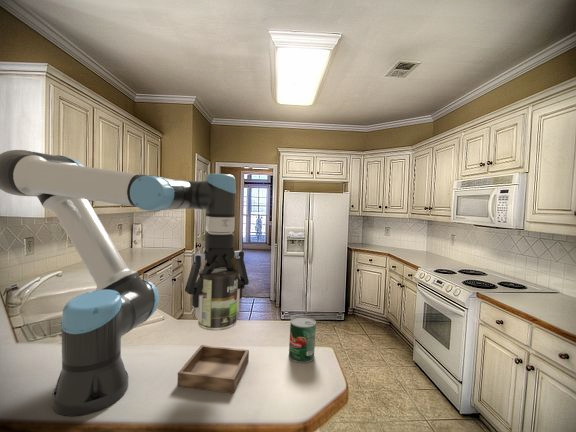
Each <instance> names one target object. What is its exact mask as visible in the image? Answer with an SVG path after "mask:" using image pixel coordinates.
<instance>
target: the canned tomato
mask: <svg viewBox="0 0 576 432" xmlns="http://www.w3.org/2000/svg"><path fill="white" fill-rule="evenodd" d="M316 324H317V321H316V320H315V319H314V318H311V317H309V316H295V317H293V318H291V319H290V325H289V327H290V328H289V343H288V344H289V345H288V346H289V347H288V358H289V359H290V360H291V361H293V362H295V363H301V364H306V363H307V364H308V363H311V362H312V361H313V360H314V358H315V348H316V347H315V345H316V329H317V327H316Z"/></svg>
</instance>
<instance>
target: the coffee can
mask: <svg viewBox="0 0 576 432" xmlns="http://www.w3.org/2000/svg"><path fill="white" fill-rule="evenodd" d="M234 269H235V271H232V272H231V271H229V270H227V269H226V267H224V268H223V267H220V268H216V269H215V268H214V270H213V272H211V274H209V275H206V274H204V273H202V271H203V269H200V270H199V274H198V276H199V277H200V278H203V289H202V291H201V292H200V294H201V295H203V302H202V320H201V321H199V320H198V319H197V320H198V321H197V325H198V326H199V328H201V329H202V330H206V331H224V330H225V331H226V330H229V329H231V328H234V327H235V326H236V325H237V323H238V322H237V321H238V319H237V317H238V315H237V313H238V312H237V291H238V276H239V271H238V269H236V268H234Z"/></svg>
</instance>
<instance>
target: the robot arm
mask: <svg viewBox="0 0 576 432" xmlns="http://www.w3.org/2000/svg"><path fill="white" fill-rule="evenodd" d="M236 189H237V188H236V178H235V176H234V175H232V174H225V173H209V174H207V175H206V179H205V180H203V181H202V180H201V181H200V180H199V181H198V180H185V179H184V180H183V179H177V178H168V177H162V176H159V175H154V174H153V175H151V174H149V175H148V174H141V173H134V172H127V171H119V170H113V169H105V168H97V167H92V166H91V167H90V166H84V165H83V164H82V163H81V162H80V161H78V160H76V159H74V158H71V157H68V156H66V155H64V156H63V155H53V154H49V153H43V152H37V151H30V150H25V149H14V150H13V149H12V150H7V151H3V152H1V153H0V191H3V192H4V193H6V194H10V195H13V196H18V197H21V196H22V197H36V198H37V199H38V200H39V202H40V204H41V205H42V207H43V209H45V210H47V211H52V212H53V213H54V214H55V216H56V218H57V219H58V221H59V223H60V225H61V226H62V228H63V230H64V232H65V233H66V235H67V236H68V239H69V240H70V241H71V244H72V245H73V247H74V248H75V250H76V252H77V253H78V256H79V257H80V259H81V261H82V262H83V265H84V266H85V268H86V269H87V271H88V273H89V275H90V276H91V278H92V279H93V281H94V283H95V284H96V288H95V290H92V291H91V292H90V291H89V292H84V293H82V294H79V295H76V296H75V297H72V298H71V299H69V301H68V302H66V304H65V305H64V306H63V308H62V317H61V321H60V327H61V370H60V374H59V376H58V379H57V381H56V384H55V388H54V389H53V391H52V392H53V393H52V397H51V399H52V400H51V402H52V404H51V405H52V406H51V407H52V409H53V411H54V412H55V413H57V414H58V415H59V414H60V415H63V416H73V417H75V416H81V415H87V414H92V413H95V412H97V411H101V410H102V409H106V408H107V407H109V406H111V405H113V404H114V403H116V402H117V401H118V400H120V399H121V398H122V397H123V396H124V395H125V394H126V392H127V390H128V389H129V388H128V387H129V374H128V372H127V370H126V368H125V365H124V361H123V359H122V354H121V352H122V350H121V349H122V337H123V336H125V335H126V334H127V333H130V331H132V330H133V329H135V328H137V327H138V326H139V325H141V324H144V323H145V322H147V320H149V318H150V317H152V316H153V315H154V313H156V311H157V310H158V305H159V303H160V296H159V291H158V289H157V287H156V285H155V284H154V283H153V282H152V281H150V280H147V279H143V278H142V277H141V276H140V275H139V273H138V271H136V270H132V269H129V267H128V266H127V264H126V262H125V260H124V259H123V257H122V256H121V254H120V252H119V250H118V248H117V247H116V245H115V243H114V242H113V240H112V239H111V237H110V235H109V233H108V231H107V230H106V228H105V227H104V225H103V223H102V221H101V219H100V218H99V216H98V215H97V213H96V211H95V210H94V208H93V206H92V205H91V202H90V201H94V202H100V203H107V204H108V203H109V204H114V205H121V206H128V207H136V208H138V209H140V210H142V211H148V212H160V211H167V210H171V211H172V210H205V231H206V232H207V233H205V236H204V238H205V240H204V242H205V243H204V247H205V248H204V249H205V250H204V252H203V253H200V254H198V253H194V254H193V255H192V265H191V267H190V271H189V275H188V278H187V282H186V285H185V288H184V291H185V292H186V293H187V294H188V295H192V298H191V299H192V301H191V305H192V307H194V308H195V313H194V315H195V316H194V317H195V319H197V320H199V321H201V320H202V302H203V295H201V294H200V292H201V291H202V289H203V278H200V276H199V271H201V266H202V263H203V261H204V260H205V261H206V263H205V264H204V266H203V269H202V270H203V271H202V273H204V274H206V275H209V274H211V272H213V270H214V268H215V269H216V268H220V267H223V268H224V267H226V269H227V270H229V271H231V272H232V271H235V269H236V268H235V266H234V264H233V261H232V260H233V259H234V258H235V263H236V267H237V270H238V271H239V273H238V291H237V313H239V312H240V300H241V299H242V297H243V289H245V286H248V285H249V284H250V281H249V277H248V273H247V269H246V268H247V267H246V264H245V260H244V259H245V258H244V257H245V252H244V251H242V250H239V249H237V250H234V246H235V234H234V233H233V232H235V223H236V220H235V219H236V217H235V216H236V214H235V213H236V194H237V191H236Z"/></svg>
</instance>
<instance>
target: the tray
mask: <svg viewBox="0 0 576 432" xmlns="http://www.w3.org/2000/svg"><path fill="white" fill-rule="evenodd" d="M249 353H250V349H243V348H234V347H233V348H232V347H224V346H223V347H222V346H216V345H215V346H214V345H213V346H212V345H205V344H201V345H200V346H199V347H198V348H197V350H196V351H195V352H193V354H192V355H191V357H190V358H189V359H188V360H187V361H186V362H185V363H184V365H183V366H182V368H181V369H179V371H178V372H177V387H180V388H188V389H189V388H190V389H198V390H204V391H213V392H223V393H230V394H234V393H235V392H236V390H237V388H238V385H239V383H240V380H241V379H242V376H243V375H244V371H246V368H247V365H248V364H249V358H250V354H249Z"/></svg>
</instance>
